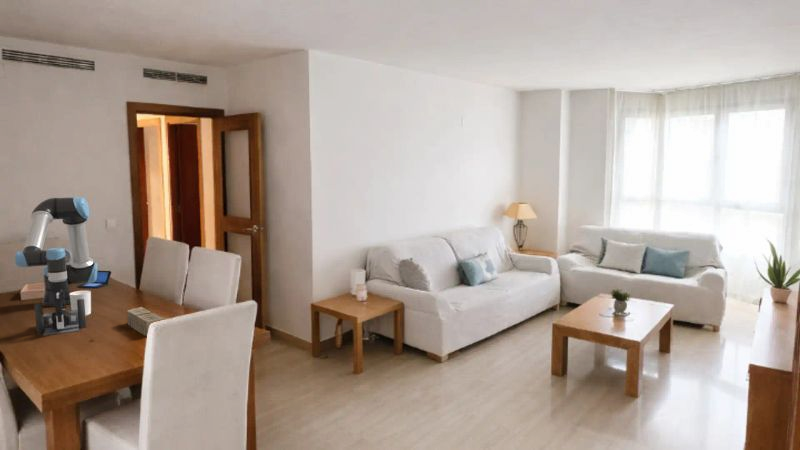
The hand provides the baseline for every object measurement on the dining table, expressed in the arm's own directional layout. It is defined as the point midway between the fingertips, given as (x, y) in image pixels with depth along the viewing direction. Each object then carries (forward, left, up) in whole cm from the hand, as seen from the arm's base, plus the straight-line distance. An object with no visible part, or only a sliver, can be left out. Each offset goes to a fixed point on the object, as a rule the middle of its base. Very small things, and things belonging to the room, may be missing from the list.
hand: (61, 325), depth 246 cm
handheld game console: (-99, +11, -3) cm, 99 cm away
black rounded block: (0, 0, -1) cm, 1 cm away
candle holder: (-26, +7, -3) cm, 27 cm away
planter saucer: (-89, -16, -2) cm, 90 cm away
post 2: (0, +9, -2) cm, 9 cm away
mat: (0, 0, -2) cm, 2 cm away
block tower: (+17, +35, -3) cm, 39 cm away
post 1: (0, -8, -2) cm, 9 cm away
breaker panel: (-11, 0, -2) cm, 11 cm away
